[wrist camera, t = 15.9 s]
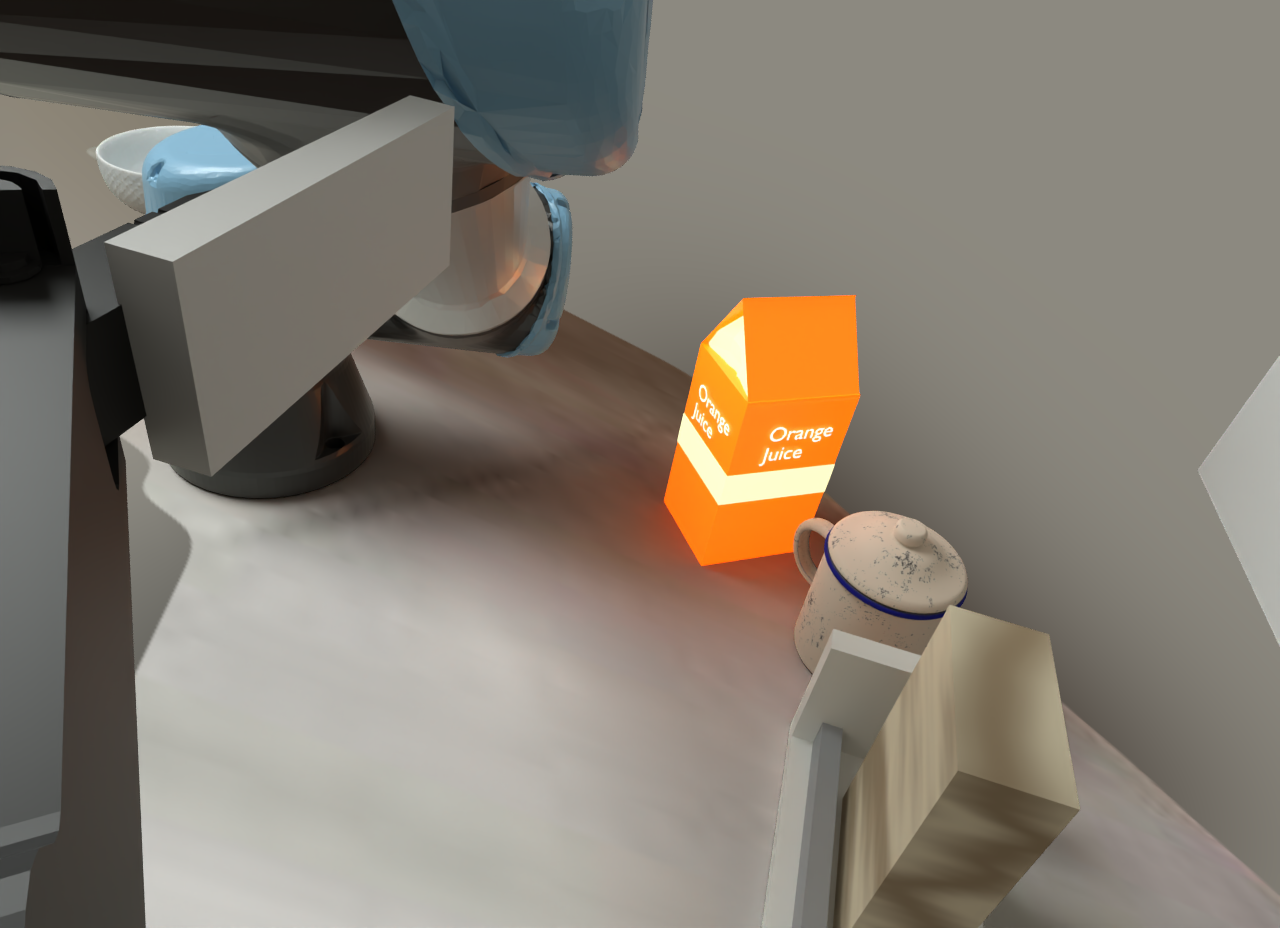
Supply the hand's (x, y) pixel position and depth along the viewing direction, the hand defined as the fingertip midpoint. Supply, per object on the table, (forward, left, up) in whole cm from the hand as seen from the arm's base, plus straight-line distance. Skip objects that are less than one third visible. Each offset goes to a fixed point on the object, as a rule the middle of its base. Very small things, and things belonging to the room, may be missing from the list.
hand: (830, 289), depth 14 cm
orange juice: (-34, +20, -38) cm, 55 cm away
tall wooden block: (-5, +18, -37) cm, 41 cm away
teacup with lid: (-22, +24, -38) cm, 50 cm away
